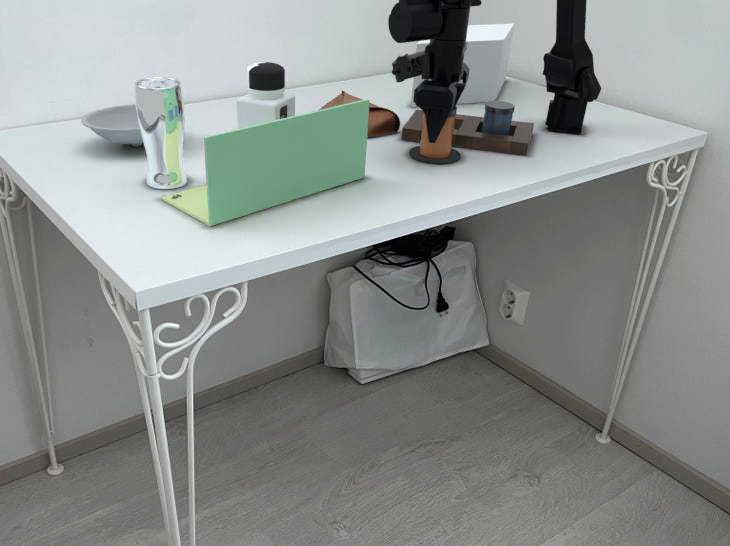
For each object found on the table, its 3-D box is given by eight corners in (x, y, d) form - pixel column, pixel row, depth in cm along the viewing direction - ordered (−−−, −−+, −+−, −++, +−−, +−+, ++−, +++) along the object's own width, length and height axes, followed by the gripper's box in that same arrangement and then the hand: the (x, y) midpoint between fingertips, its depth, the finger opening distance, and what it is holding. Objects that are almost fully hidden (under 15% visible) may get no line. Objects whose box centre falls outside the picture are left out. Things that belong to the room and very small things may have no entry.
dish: (100, 165, 121) (96, 135, 118) (74, 140, 131) (69, 111, 128) (200, 149, 129) (198, 120, 126) (168, 126, 139) (166, 99, 136)
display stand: (211, 226, 103) (205, 138, 96) (162, 199, 110) (154, 115, 103) (364, 178, 120) (369, 99, 113) (313, 157, 127) (315, 82, 120)
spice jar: (509, 138, 139) (516, 102, 136) (507, 146, 135) (513, 110, 132) (482, 134, 141) (487, 99, 137) (478, 142, 136) (483, 106, 133)
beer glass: (180, 192, 113) (171, 90, 104) (137, 188, 114) (125, 86, 105) (195, 176, 118) (189, 78, 110) (154, 172, 119) (144, 75, 111)
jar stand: (532, 134, 141) (534, 122, 140) (526, 155, 131) (529, 143, 130) (415, 120, 147) (416, 109, 145) (401, 139, 137) (402, 128, 135)
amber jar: (453, 150, 131) (459, 104, 127) (448, 160, 127) (454, 112, 122) (422, 146, 133) (427, 100, 128) (415, 156, 128) (420, 108, 124)
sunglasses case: (309, 112, 148) (324, 79, 146) (332, 125, 153) (347, 94, 151) (365, 137, 136) (382, 102, 134) (389, 150, 141) (406, 117, 139)
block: (379, 98, 160) (383, 36, 153) (474, 73, 180) (482, 17, 173) (444, 116, 150) (452, 51, 143) (537, 87, 170) (548, 29, 163)
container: (295, 137, 136) (296, 62, 129) (275, 149, 130) (275, 72, 123) (258, 131, 138) (256, 57, 131) (237, 142, 133) (234, 66, 125)
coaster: (464, 150, 133) (464, 148, 132) (456, 167, 125) (456, 164, 125) (414, 144, 135) (414, 142, 134) (403, 160, 128) (404, 158, 127)
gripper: (410, 23, 128) (402, 114, 137) (385, 44, 114) (378, 145, 122) (475, 28, 126) (462, 121, 135) (458, 51, 111) (445, 153, 120)
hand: (436, 134), depth 128 cm, fingers open, 9 cm apart
